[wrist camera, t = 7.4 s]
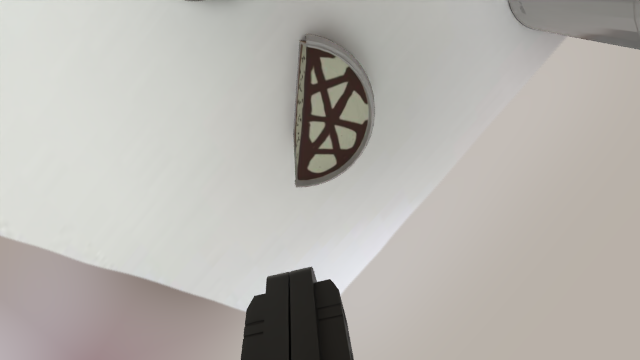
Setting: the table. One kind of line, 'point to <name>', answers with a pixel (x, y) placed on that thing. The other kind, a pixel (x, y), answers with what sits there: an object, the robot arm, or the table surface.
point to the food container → (329, 111)
